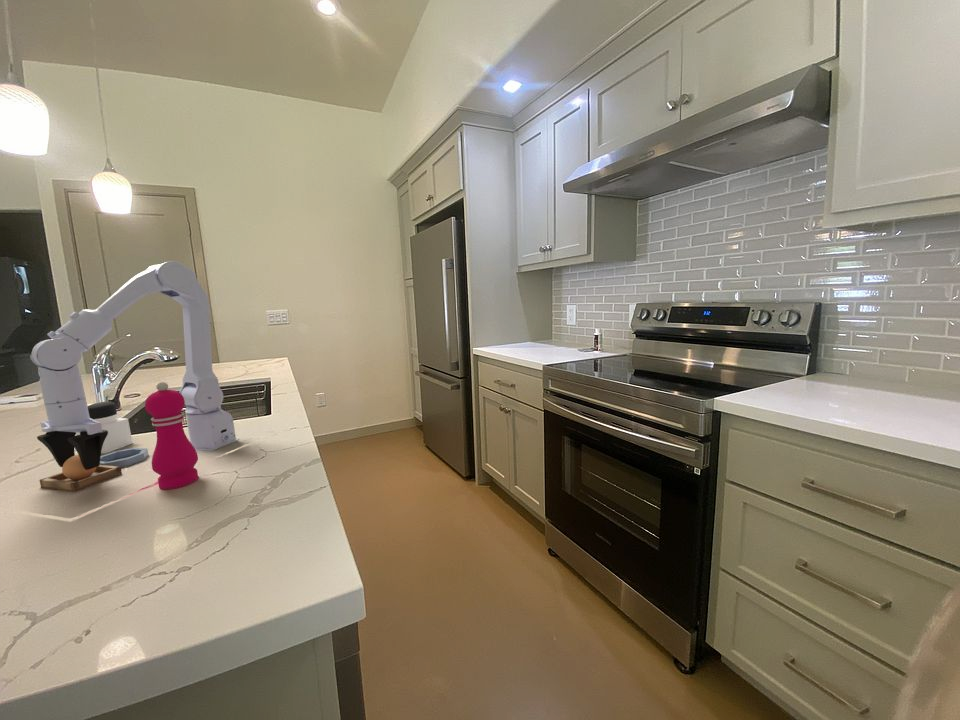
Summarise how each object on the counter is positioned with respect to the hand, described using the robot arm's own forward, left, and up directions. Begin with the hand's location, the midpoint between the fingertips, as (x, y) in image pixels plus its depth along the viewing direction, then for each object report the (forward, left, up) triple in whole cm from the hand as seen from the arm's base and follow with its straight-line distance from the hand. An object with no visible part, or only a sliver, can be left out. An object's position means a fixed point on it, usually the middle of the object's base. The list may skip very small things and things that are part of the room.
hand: (79, 466), depth 82 cm
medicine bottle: (+18, -15, -4) cm, 24 cm away
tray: (0, 0, -3) cm, 3 cm away
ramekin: (+3, -9, -3) cm, 10 cm away
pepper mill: (-21, -4, -4) cm, 22 cm away
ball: (0, 0, -3) cm, 3 cm away
